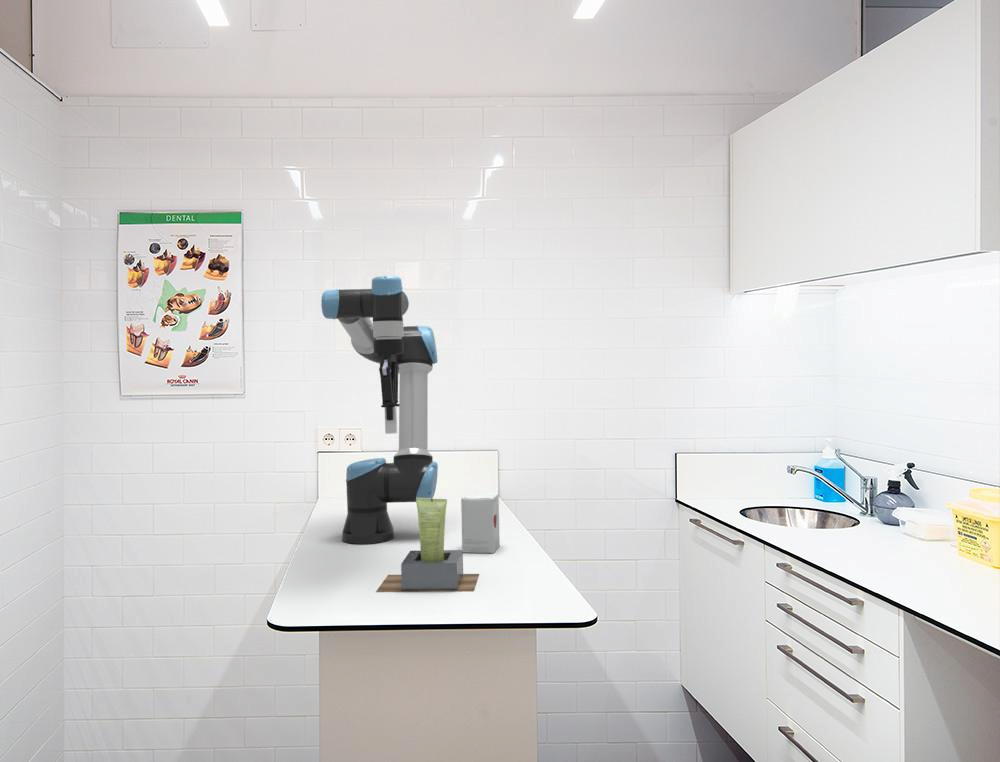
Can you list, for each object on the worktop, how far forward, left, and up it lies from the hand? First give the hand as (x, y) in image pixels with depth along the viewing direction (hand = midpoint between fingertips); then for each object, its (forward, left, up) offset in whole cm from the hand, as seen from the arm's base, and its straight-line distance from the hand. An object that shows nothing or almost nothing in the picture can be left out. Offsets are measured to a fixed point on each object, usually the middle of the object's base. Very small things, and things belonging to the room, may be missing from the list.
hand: (391, 433), depth 198 cm
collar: (+16, +12, -33) cm, 39 cm away
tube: (+16, +12, -33) cm, 39 cm away
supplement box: (-20, +20, -35) cm, 45 cm away
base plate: (+16, +11, -34) cm, 40 cm away
